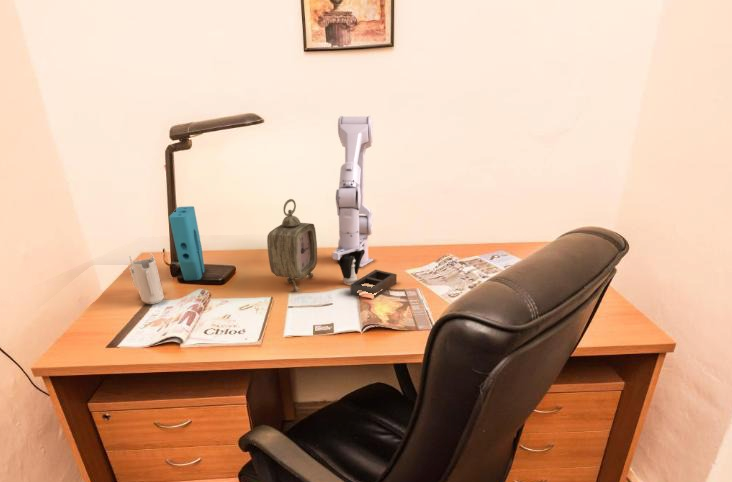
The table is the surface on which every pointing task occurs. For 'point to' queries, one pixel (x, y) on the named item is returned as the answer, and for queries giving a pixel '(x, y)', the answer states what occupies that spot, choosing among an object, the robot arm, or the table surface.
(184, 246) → the block
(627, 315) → the table surface
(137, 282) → the cable organizer
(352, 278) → the rook chess piece
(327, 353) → the table surface
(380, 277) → the rack
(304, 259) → the tabletop clock
